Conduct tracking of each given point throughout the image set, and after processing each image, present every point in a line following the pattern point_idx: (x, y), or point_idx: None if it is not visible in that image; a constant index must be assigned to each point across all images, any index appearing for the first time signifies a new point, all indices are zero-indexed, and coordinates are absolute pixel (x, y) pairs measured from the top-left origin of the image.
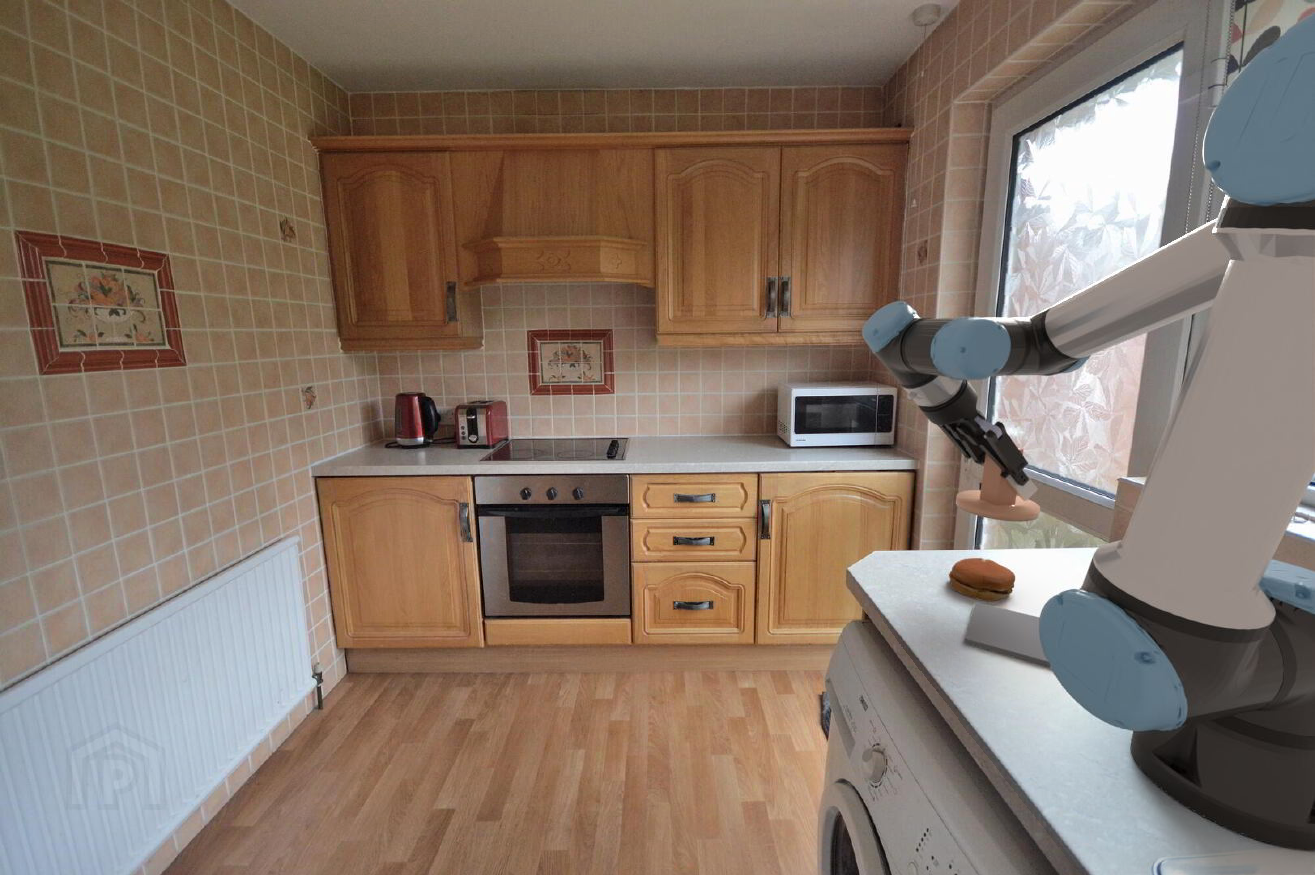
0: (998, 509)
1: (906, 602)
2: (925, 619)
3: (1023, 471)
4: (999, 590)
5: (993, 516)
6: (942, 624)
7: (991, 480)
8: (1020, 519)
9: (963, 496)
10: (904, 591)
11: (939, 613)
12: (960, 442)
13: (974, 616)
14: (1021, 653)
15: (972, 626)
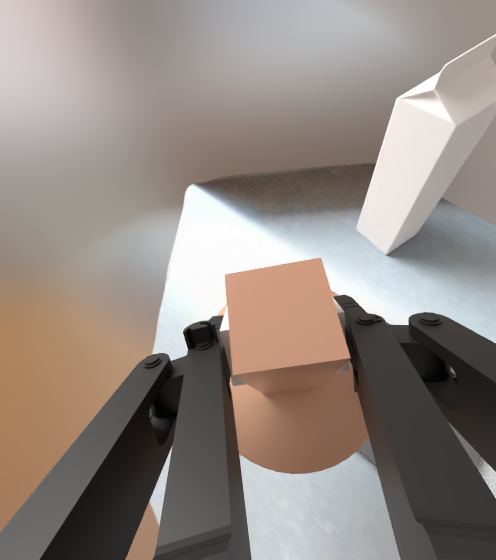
0: (353, 400)
1: (310, 542)
2: (369, 544)
3: (365, 311)
4: None
5: None
6: (383, 520)
7: (295, 384)
8: None
9: (244, 432)
10: (270, 517)
11: (346, 499)
12: (141, 491)
13: (369, 454)
14: (478, 455)
15: None
